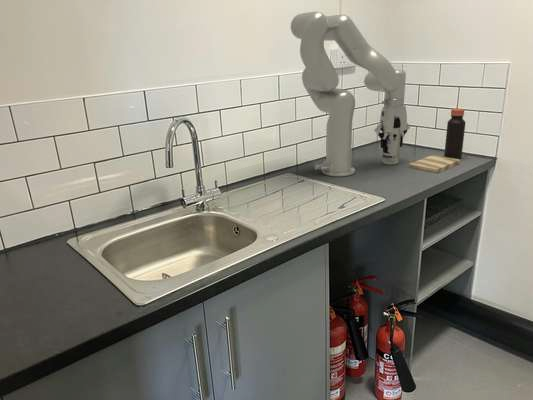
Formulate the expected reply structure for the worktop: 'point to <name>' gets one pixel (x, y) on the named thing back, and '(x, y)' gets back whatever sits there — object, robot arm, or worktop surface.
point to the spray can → (393, 144)
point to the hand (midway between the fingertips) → (391, 146)
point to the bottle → (455, 134)
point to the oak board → (434, 163)
